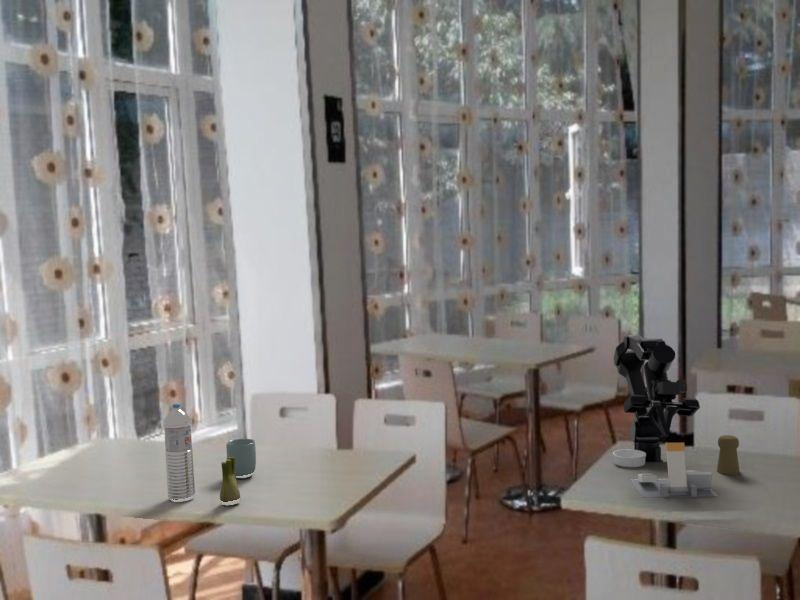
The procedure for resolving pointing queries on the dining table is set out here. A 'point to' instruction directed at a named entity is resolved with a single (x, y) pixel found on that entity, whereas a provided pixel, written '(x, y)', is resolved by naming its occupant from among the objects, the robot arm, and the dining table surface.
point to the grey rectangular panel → (699, 479)
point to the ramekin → (629, 458)
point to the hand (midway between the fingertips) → (666, 435)
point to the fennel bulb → (229, 481)
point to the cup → (242, 455)
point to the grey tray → (662, 489)
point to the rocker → (647, 477)
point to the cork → (728, 455)
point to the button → (691, 471)
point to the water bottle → (179, 454)
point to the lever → (676, 468)
